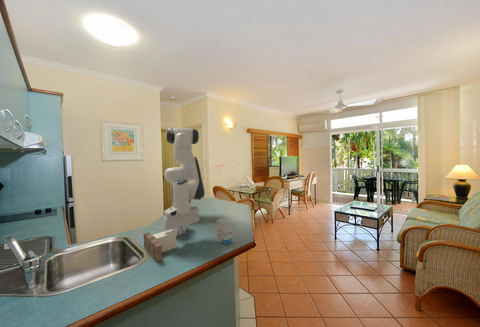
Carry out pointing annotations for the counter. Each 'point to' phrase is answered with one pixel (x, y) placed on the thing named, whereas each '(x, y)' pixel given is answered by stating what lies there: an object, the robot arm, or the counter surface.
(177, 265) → the counter surface
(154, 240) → the walnut board
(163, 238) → the cream block
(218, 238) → the ink box
